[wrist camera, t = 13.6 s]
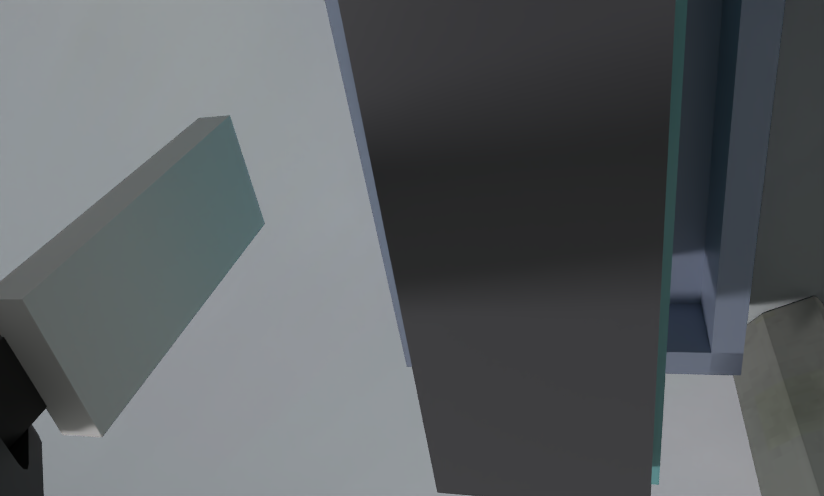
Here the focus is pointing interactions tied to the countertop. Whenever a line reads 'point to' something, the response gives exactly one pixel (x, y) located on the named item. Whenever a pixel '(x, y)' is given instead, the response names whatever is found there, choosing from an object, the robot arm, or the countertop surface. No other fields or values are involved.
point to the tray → (687, 177)
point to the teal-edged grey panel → (528, 228)
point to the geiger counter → (785, 398)
